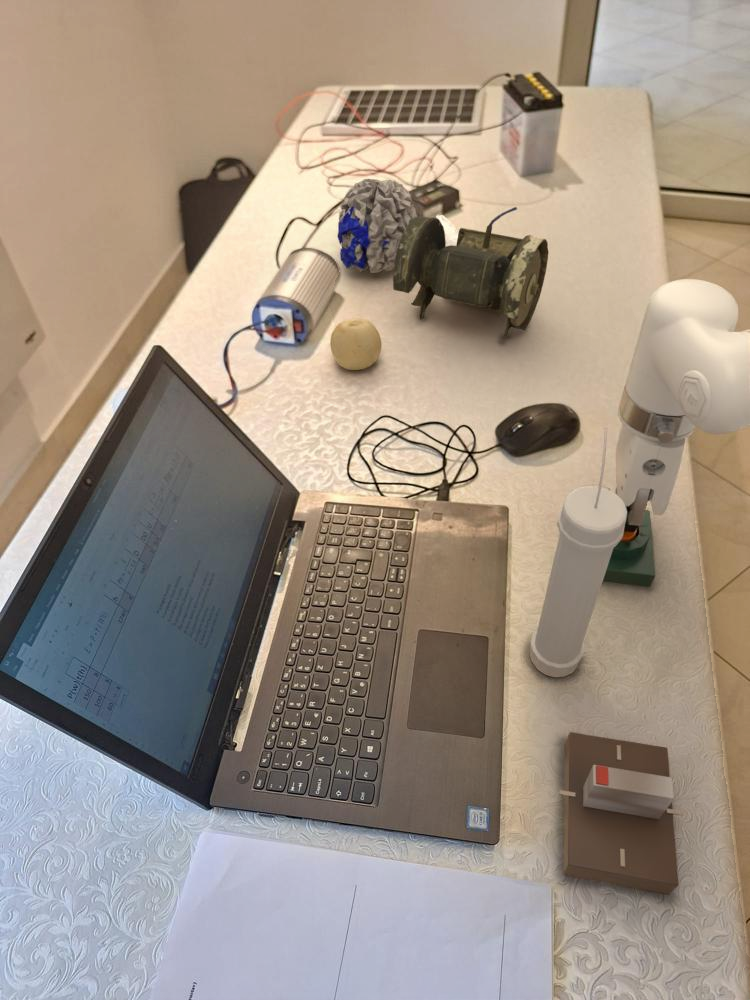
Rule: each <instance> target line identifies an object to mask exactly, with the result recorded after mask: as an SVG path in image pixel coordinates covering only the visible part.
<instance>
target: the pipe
mask: <svg viewBox="0 0 750 1000" xmlns="http://www.w3.org/2000/svg"><path fill="white" fill-rule="evenodd" d="M603 432H604V433H603V451H602V459H601V469H600V476H599V483H598V486H595V485H587V486H586V485H585V486H579V487H577V488H575V489H573V490H571V492H569V493H568V494H567V495H566V497H565V498H564V500H563V503H562V509H560V511H559V514H558V518H557V522H556V524H557V528H558V529H557V530H558V533H559V534H558V535H559V536H558V540H557V544H556V547H555V554H554V557H553V561H552V565H551V569H550V574H549V579H548V583H547V588H546V592H545V596H544V601H543V605H542V609H541V613H540V616H539V621H538V626H537V627H536V628H535V630H534V631H533V632H532V635H531V639H530V643H529V645H530V649H529V656H530V660H531V663H532V664H533V665H534V667H535V668H536V669H537V671H539V672H541V673H542V674H543V675H545V676H548V677H552V678H564V677H567V676H569V675H570V674H573V673H574V671H575V670H576V669H577V668H578V667H579V664H580V662H581V660H582V659H583V656H584V651H585V645H584V640H585V638H586V634H587V630H588V628H589V624H590V621H591V618H592V616H593V612H594V609H595V606H596V604H597V600H598V598H599V593H600V591H601V588H602V584H603V582H604V581H603V579H604V576H605V573H606V570H607V566H608V563H609V560H610V557H611V554H612V551H613V548H614V547H615V546H616V545H617V544H618V543H619V542H620V540H621V539H622V537H623V533H624V527H625V523H626V518H627V510H626V507H625V504H624V502H623V501H622V500H621V499H620V497H619V496H618V495H617V494H615V492H613V491H612V490H610V489H607V488H605V487H602V485H603V480H604V472H605V464H606V454H607V441H608V440H607V439H608V428H607V427H605V428H604V431H603Z"/></svg>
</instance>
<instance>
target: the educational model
mask: <svg viewBox="0 0 750 1000" xmlns="http://www.w3.org/2000/svg"><path fill="white" fill-rule="evenodd" d="M338 213H339V214H338V222H337V223H338V224H337V228H338V229H337V230H338V231H337V236H336V237H337V240H338V242H339V245H340V246H341V248H340V250H339V251H340V252H339V253H340V254H339V255H340V261H341V262H342V263H343V265H344V267H345V268H346V269H350V270H354V269H357V270H358V271H359V272H362V271H364V272H365V271H367V269H369V272H370V274H374V273H375V274H376V273H380V272H382V271H385V272H388V273H389V272H390V271H392V270H394V264H395V258H396V253H397V249H398V246H399V243H400V240H401V237H402V235H403V233H404V231H405V229H406V227H407V226H408V224H409V223H410V222H411V221H412V220H413V219H414V218H415V217H417V216H418V215H417V209H416V208H415V206H414V201H413V199H412V195H411V193H410V191H408V189H406V188H405V186H404V185H403V184H402V183H399V182H398V181H396V180H394V179H389V178H388V179H385V180H381V179H380V180H379V179H373V178H364V179H362V180H361V181H358V182H355V184H354V185H353V186H351V187H350V188H349V189H348V190H347V192H346V193H345V195H344V198H343V202H342V204H341V205H340V211H339V212H338Z"/></svg>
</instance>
